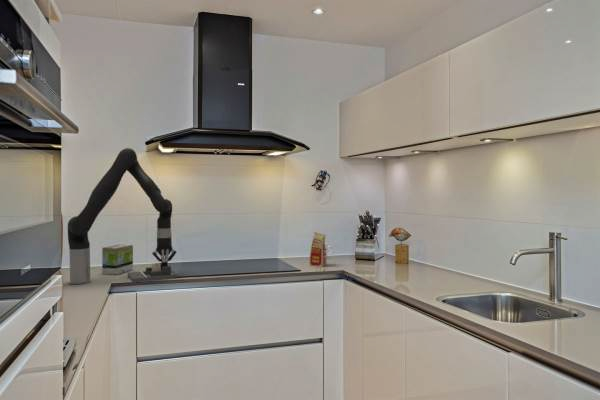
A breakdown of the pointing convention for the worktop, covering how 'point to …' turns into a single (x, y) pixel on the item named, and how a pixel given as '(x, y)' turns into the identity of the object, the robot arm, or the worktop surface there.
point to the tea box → (117, 259)
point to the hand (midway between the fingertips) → (164, 268)
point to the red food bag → (318, 251)
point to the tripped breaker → (156, 267)
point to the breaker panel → (142, 278)
